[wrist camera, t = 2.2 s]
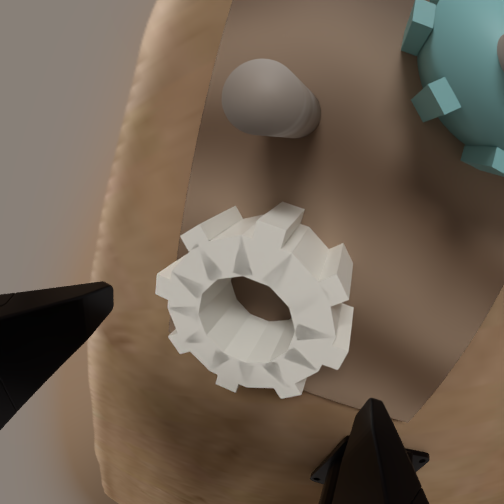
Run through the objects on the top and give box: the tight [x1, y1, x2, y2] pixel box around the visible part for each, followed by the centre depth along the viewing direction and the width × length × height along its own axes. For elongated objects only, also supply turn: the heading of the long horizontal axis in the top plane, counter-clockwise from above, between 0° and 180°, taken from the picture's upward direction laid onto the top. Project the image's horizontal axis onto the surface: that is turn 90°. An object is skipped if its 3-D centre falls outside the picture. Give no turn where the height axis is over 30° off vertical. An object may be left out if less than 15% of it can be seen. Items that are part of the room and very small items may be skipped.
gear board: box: [169, 0, 504, 422], centre depth 9 cm, size 20×14×5 cm
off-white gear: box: [155, 202, 354, 399], centre depth 12 cm, size 7×7×3 cm
